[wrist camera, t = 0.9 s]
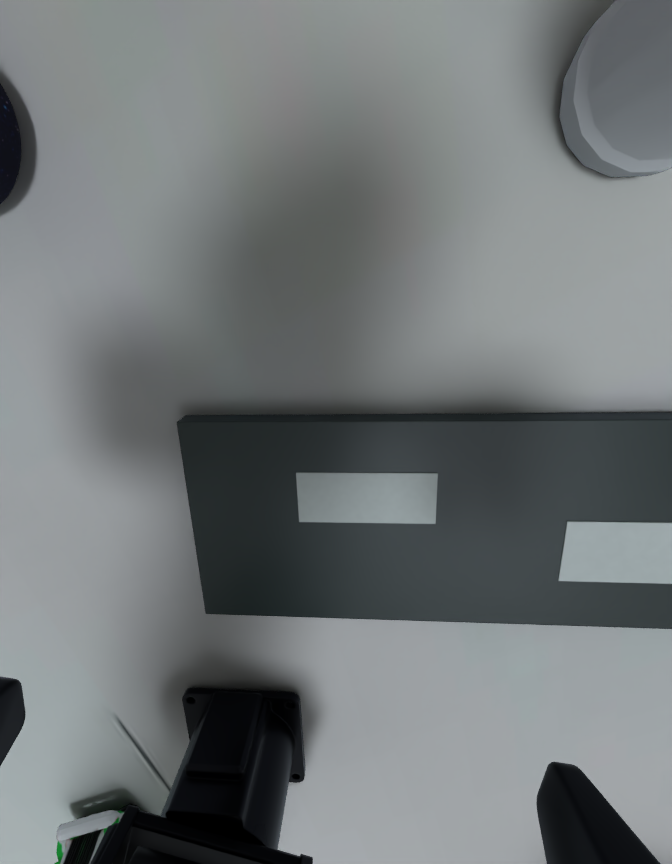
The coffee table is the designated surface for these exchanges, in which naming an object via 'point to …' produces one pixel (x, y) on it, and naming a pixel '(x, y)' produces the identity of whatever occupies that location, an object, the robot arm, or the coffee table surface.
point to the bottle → (622, 91)
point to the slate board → (434, 516)
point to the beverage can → (8, 146)
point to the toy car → (84, 836)
